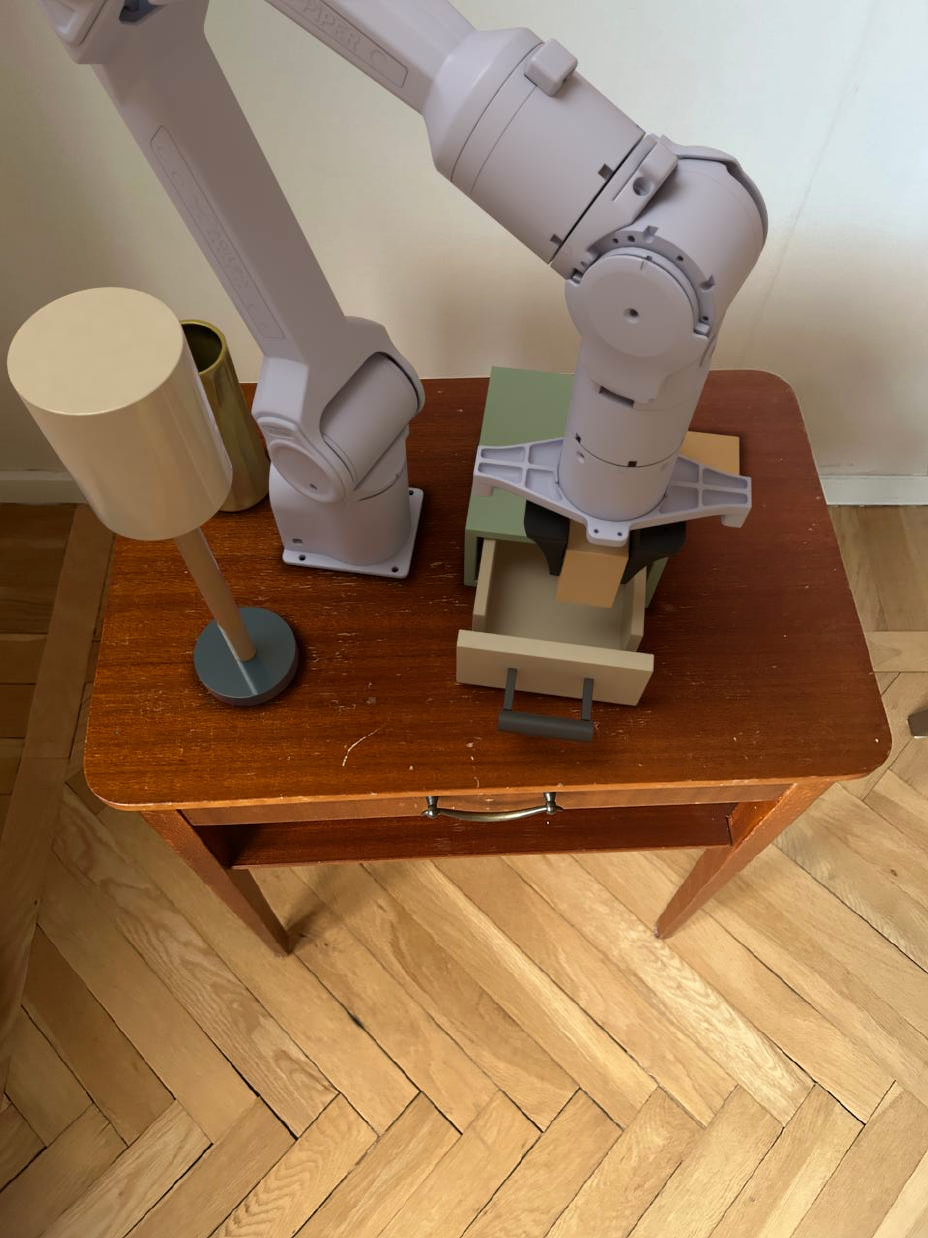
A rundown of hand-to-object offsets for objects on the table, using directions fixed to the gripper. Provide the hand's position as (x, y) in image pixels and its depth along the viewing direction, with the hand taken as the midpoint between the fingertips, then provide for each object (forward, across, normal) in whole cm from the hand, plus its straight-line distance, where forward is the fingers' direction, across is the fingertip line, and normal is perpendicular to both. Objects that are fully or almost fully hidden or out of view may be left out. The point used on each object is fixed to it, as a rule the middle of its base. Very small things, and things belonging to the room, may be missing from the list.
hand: (588, 566), depth 54 cm
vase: (+10, -27, +10) cm, 31 cm away
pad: (+10, +9, +18) cm, 22 cm away
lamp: (+10, -22, -5) cm, 25 cm away
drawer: (+9, -1, 0) cm, 9 cm away
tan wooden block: (+1, 0, 0) cm, 1 cm away
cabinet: (+10, -1, +10) cm, 15 cm away
